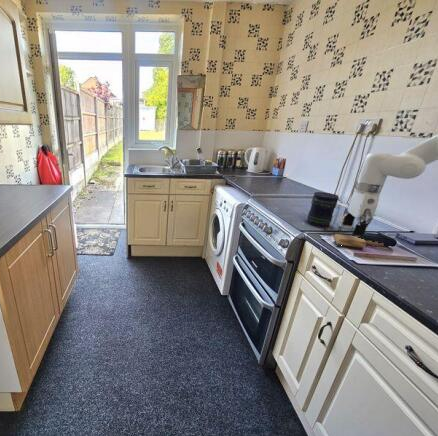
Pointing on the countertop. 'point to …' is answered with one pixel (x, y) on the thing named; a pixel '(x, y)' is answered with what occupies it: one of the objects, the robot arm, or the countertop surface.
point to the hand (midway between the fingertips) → (352, 229)
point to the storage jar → (322, 209)
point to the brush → (353, 242)
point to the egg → (345, 225)
